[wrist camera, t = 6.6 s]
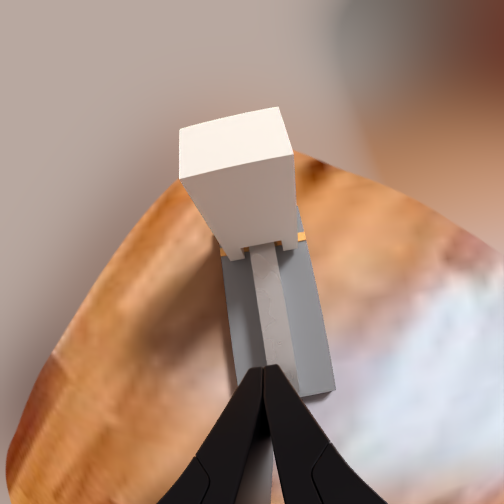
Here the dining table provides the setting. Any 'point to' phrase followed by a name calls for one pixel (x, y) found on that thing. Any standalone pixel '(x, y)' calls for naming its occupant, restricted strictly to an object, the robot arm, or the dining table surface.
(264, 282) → the light grey bar
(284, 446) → the robot arm
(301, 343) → the board
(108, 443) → the dining table surface
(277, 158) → the white cardboard box
